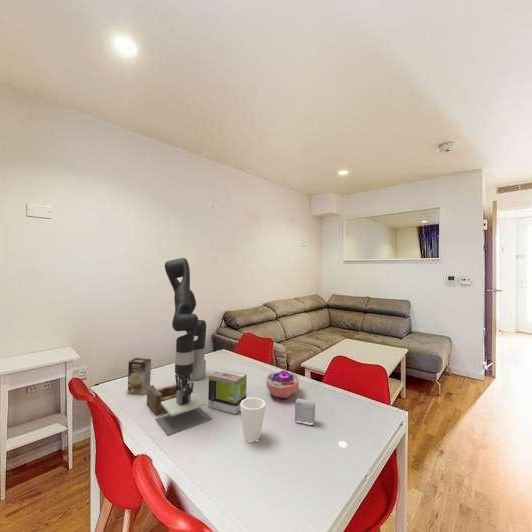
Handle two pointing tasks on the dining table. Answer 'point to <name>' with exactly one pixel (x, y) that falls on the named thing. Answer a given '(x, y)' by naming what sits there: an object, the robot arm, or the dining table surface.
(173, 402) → the cover plate
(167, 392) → the walnut box
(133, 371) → the coffee box
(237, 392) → the tea box
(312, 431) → the dining table surface
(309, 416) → the medicine box
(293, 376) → the cell model
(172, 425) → the rubber mat
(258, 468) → the dining table surface
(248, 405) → the foam cup
